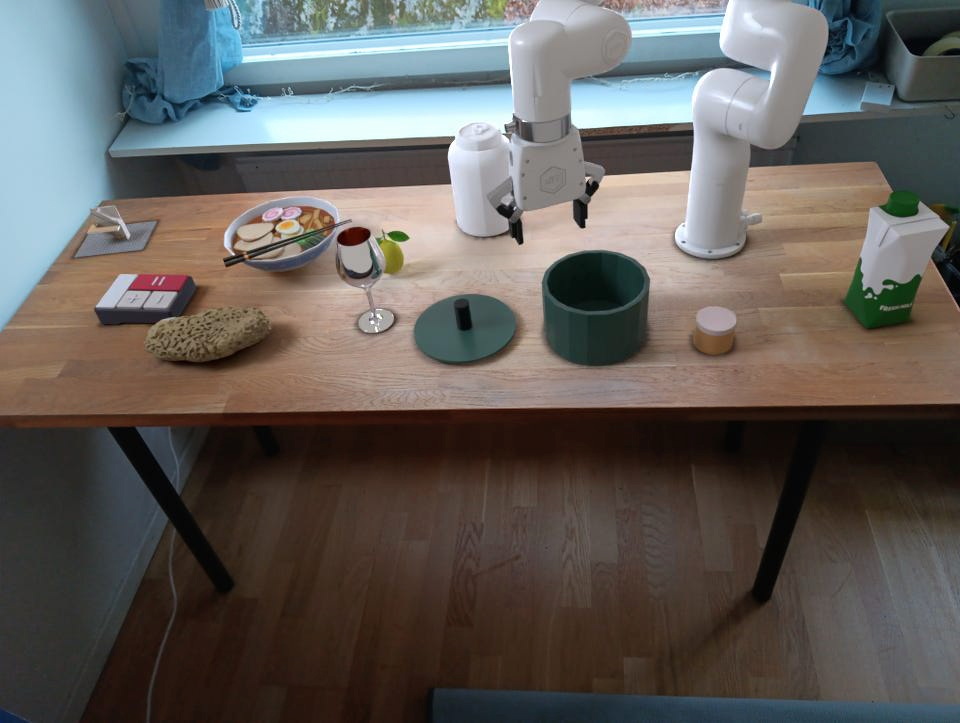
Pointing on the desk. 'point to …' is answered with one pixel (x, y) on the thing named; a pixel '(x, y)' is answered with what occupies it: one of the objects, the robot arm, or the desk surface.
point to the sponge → (207, 334)
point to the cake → (714, 330)
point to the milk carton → (893, 259)
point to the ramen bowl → (282, 233)
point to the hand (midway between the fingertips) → (548, 231)
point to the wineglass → (363, 272)
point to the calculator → (145, 298)
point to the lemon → (392, 250)
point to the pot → (595, 306)
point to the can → (479, 177)
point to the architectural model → (113, 234)
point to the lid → (465, 328)
